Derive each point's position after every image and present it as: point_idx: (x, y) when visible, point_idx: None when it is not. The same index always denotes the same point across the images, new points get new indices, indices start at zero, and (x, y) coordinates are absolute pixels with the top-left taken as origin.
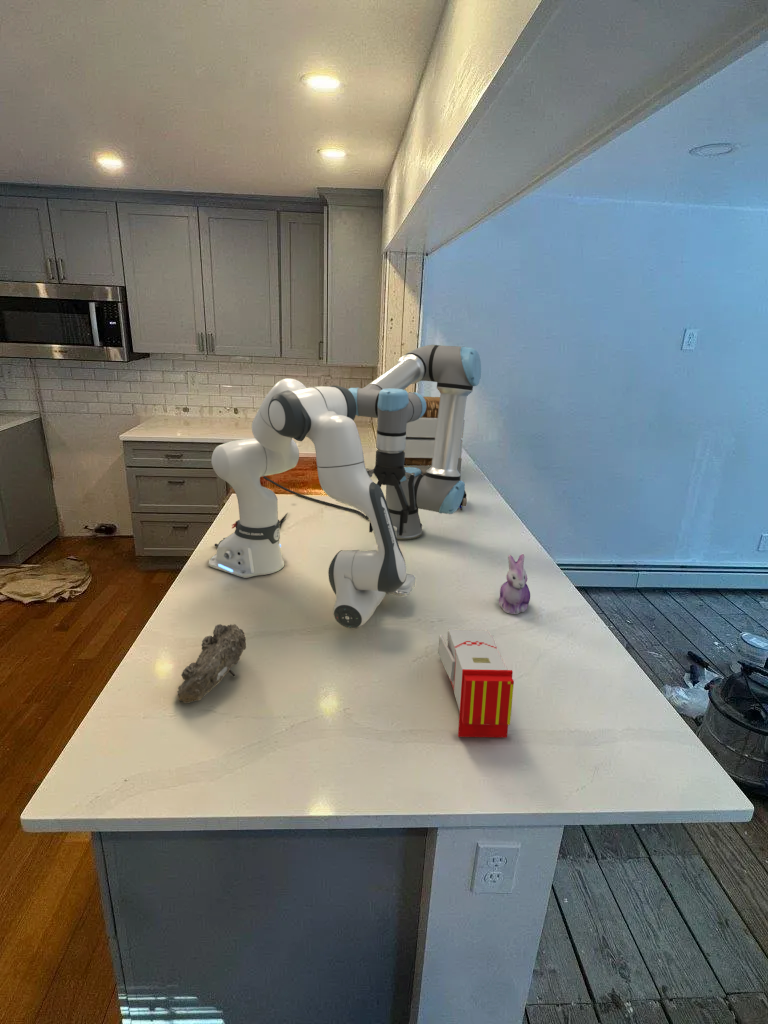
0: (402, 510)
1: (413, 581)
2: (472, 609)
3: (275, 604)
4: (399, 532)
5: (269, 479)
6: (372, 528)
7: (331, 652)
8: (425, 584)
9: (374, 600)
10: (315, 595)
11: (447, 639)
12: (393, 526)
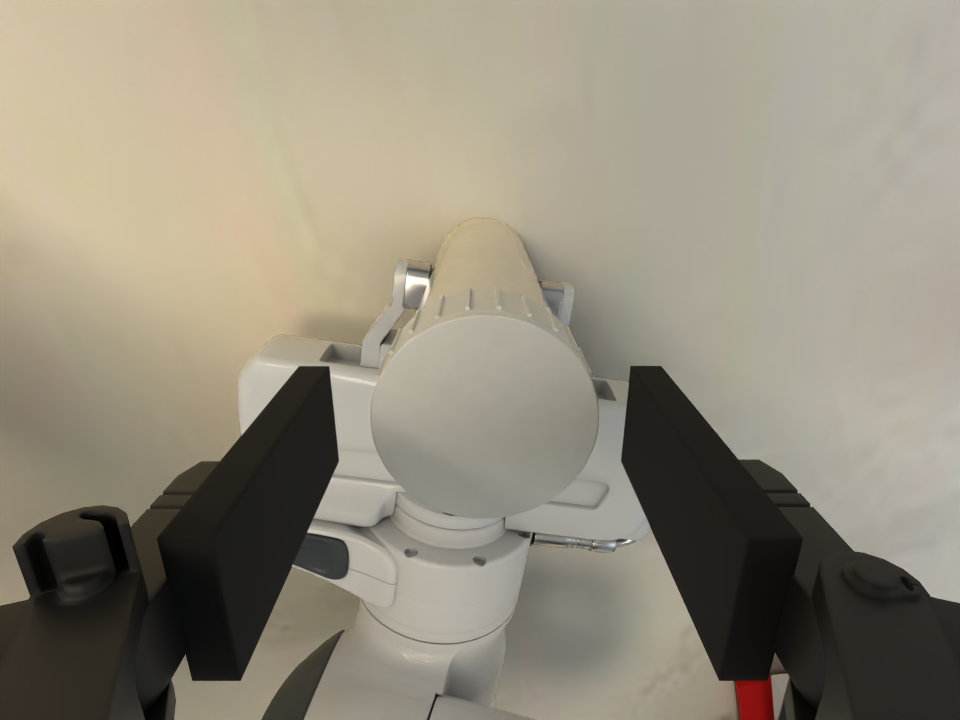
0: (760, 586)
1: None
2: (912, 362)
3: (75, 504)
4: (631, 476)
5: None
6: (327, 453)
7: None
8: (705, 152)
9: (499, 679)
10: (189, 403)
11: (772, 679)
12: (553, 357)
